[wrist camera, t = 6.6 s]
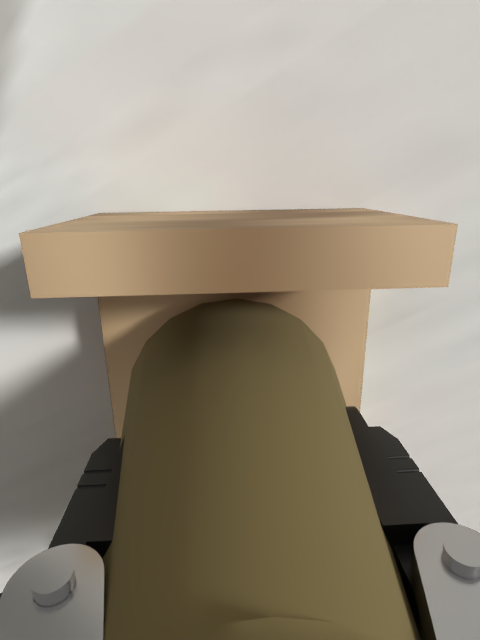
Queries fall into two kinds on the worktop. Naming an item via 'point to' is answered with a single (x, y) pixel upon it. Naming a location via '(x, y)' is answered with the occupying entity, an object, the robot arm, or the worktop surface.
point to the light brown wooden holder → (236, 273)
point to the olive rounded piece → (245, 492)
